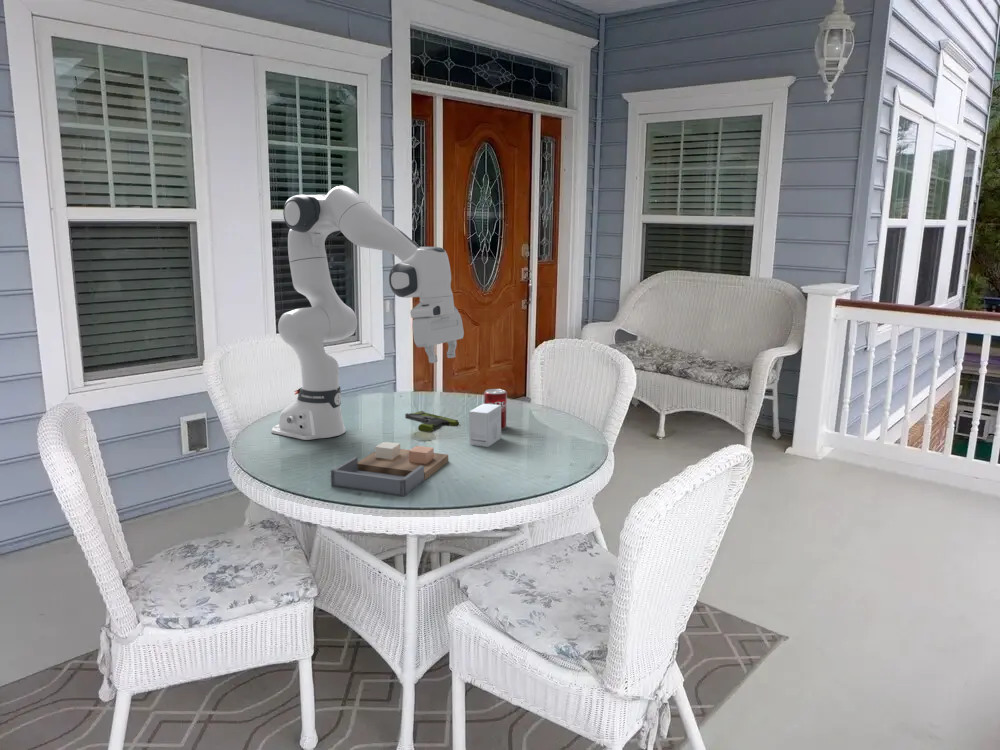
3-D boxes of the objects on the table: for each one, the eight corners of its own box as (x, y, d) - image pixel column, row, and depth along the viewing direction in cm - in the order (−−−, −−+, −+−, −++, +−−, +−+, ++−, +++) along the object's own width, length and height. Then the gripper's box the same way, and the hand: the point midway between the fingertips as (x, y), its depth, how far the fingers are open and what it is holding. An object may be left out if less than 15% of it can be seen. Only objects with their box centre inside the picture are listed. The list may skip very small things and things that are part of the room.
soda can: (509, 429, 247) (510, 393, 244) (488, 431, 244) (488, 394, 242) (501, 423, 253) (501, 388, 251) (480, 425, 251) (480, 389, 248)
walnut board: (355, 470, 206) (355, 463, 206) (383, 453, 221) (383, 446, 220) (424, 480, 200) (424, 472, 199) (448, 461, 215) (448, 454, 214)
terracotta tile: (408, 461, 208) (408, 450, 207) (416, 456, 212) (416, 445, 212) (426, 463, 206) (426, 453, 206) (433, 458, 211) (433, 447, 210)
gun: (387, 424, 253) (420, 416, 265) (429, 434, 241) (462, 426, 253) (387, 416, 253) (420, 409, 264) (429, 426, 241) (462, 418, 252)
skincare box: (482, 435, 240) (482, 402, 238) (501, 438, 238) (502, 405, 236) (468, 444, 231) (468, 410, 229) (488, 447, 228) (488, 413, 226)
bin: (331, 486, 194) (330, 470, 194) (354, 471, 206) (354, 456, 205) (403, 496, 188) (403, 480, 187) (424, 480, 199) (424, 465, 199)
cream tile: (375, 457, 211) (375, 446, 210) (383, 452, 215) (383, 441, 215) (392, 459, 209) (391, 448, 209) (400, 454, 214) (400, 443, 213)
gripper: (446, 305, 215) (451, 355, 217) (406, 312, 197) (412, 365, 199) (466, 304, 212) (471, 354, 214) (427, 310, 194) (433, 365, 196)
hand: (442, 360), depth 206 cm, fingers open, 8 cm apart
